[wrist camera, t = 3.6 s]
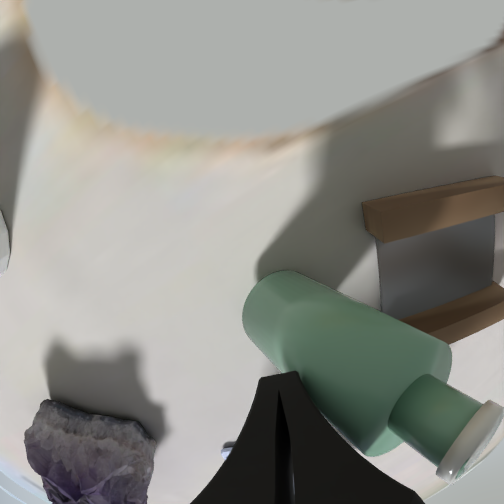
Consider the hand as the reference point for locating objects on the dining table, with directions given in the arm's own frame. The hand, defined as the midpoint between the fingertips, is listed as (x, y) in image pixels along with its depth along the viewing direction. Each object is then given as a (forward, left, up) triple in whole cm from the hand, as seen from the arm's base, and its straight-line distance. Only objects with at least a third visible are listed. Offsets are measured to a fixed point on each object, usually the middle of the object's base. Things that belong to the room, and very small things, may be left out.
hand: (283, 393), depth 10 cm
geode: (-14, +20, -7) cm, 25 cm away
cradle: (0, -11, -7) cm, 13 cm away
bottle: (0, 0, -6) cm, 6 cm away
